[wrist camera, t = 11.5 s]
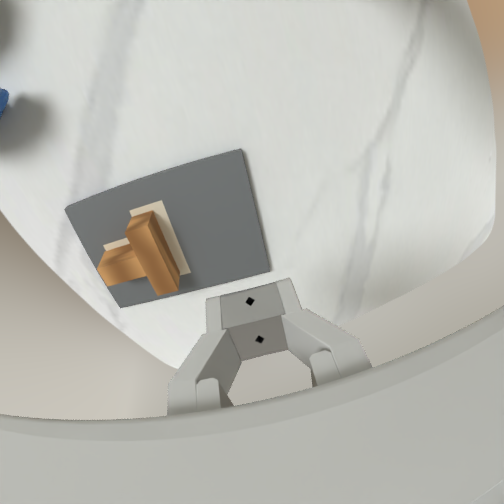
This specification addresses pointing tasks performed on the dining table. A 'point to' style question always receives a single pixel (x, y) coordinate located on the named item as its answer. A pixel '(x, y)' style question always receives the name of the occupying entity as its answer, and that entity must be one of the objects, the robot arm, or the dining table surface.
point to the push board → (181, 224)
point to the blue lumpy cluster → (3, 100)
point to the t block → (142, 257)
